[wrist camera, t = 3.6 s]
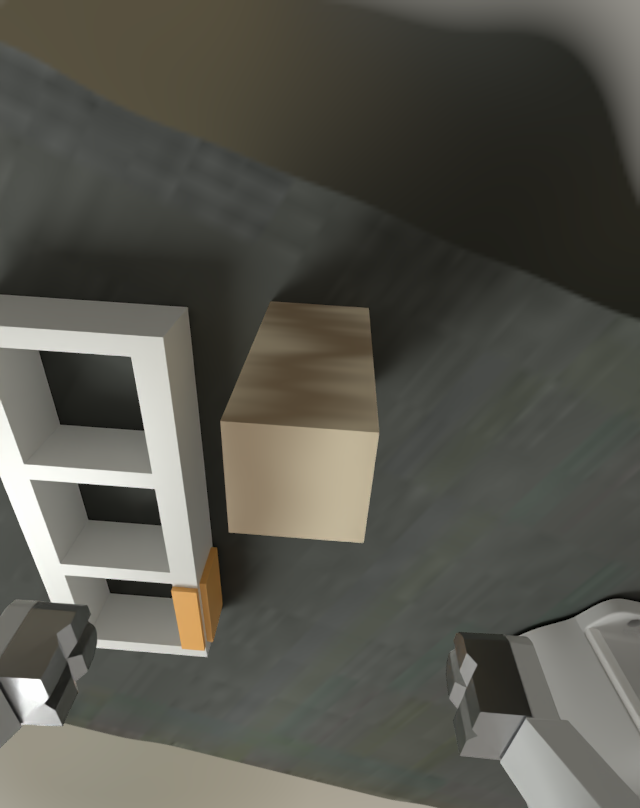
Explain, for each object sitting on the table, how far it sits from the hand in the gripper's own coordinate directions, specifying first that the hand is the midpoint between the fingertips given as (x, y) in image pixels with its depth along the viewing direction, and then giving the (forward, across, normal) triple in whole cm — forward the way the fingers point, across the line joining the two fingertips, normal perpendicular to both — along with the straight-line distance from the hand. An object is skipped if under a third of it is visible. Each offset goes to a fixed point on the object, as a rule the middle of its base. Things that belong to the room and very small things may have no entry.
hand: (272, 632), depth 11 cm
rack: (+15, +11, +10) cm, 21 cm away
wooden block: (+15, 0, 0) cm, 15 cm away
